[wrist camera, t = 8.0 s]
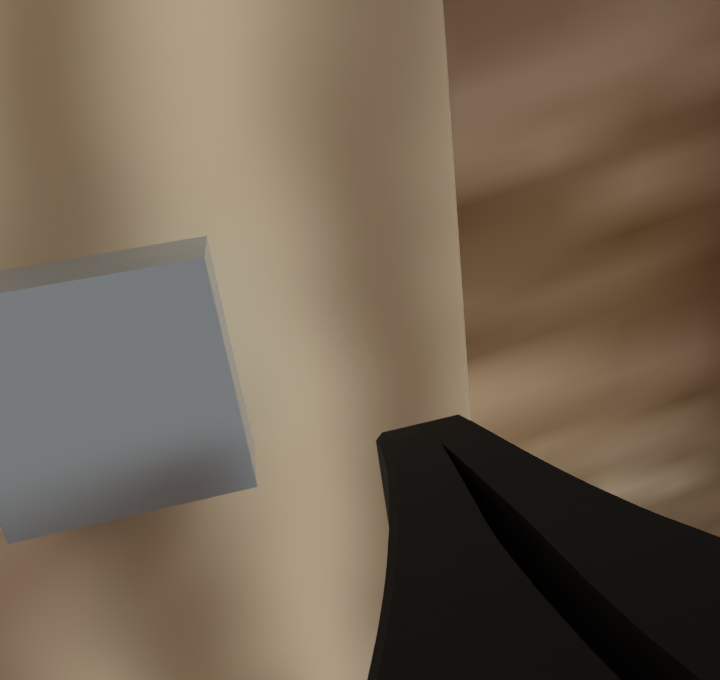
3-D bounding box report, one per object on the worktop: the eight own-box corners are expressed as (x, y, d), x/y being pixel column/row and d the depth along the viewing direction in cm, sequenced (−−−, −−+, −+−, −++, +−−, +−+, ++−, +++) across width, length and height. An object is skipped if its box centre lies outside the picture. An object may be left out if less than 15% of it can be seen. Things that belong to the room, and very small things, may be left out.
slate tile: (206, 235, 13) (204, 257, 11) (253, 439, 15) (257, 486, 13) (-48, 278, 12) (-96, 309, 10) (36, 486, 14) (8, 544, 12)
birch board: (397, -38, 14) (438, -71, 12) (456, 621, 22) (489, 693, 20) (-379, 49, 12) (-553, 32, 9) (-4, 747, 20) (-39, 848, 17)
